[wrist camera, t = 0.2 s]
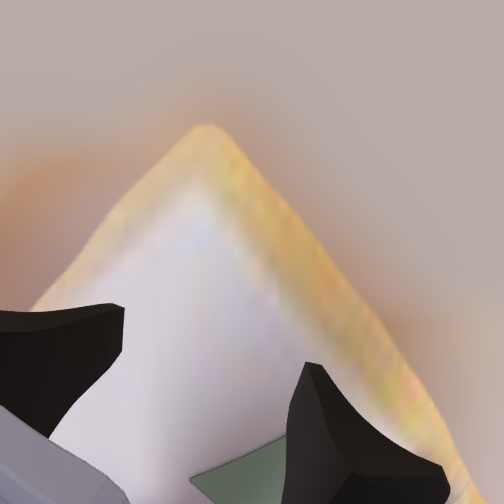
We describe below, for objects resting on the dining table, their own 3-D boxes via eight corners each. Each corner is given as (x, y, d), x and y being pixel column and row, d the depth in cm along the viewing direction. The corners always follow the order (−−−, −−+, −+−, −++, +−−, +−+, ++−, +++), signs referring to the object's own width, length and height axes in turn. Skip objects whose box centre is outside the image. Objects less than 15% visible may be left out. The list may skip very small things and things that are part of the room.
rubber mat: (266, 540, 22) (266, 542, 22) (189, 478, 22) (188, 480, 22) (389, 486, 21) (390, 488, 20) (326, 411, 21) (326, 413, 21)
